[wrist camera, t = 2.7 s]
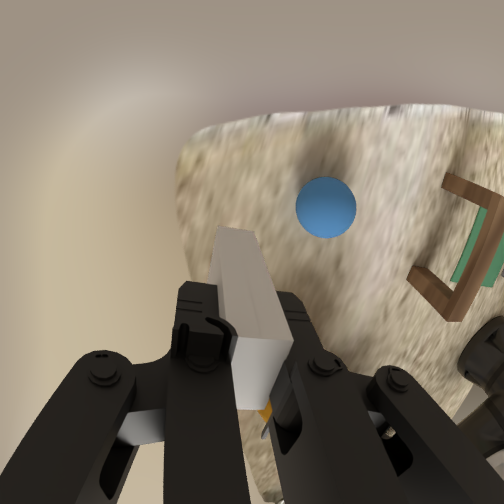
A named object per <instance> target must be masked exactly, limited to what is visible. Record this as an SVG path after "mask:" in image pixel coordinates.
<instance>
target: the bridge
mask: <svg viewBox="0 0 504 504" xmlns="http://www.w3.org/2000/svg"><path fill="white" fill-rule="evenodd" d="M441 188H443V189H446V190H448V191H450V192H452V193H454V194H456V195H458V196H461V197H463V198H465V199H467V200H469V201H471V202H473V203H475V204H477V205H479V206H481V207H483V208H485V209H487V213H486V216H485V218H484V221H483V224H482V227H481V229H480V232H479V235H478V237H477V240H476V242H475V245H474V247H473V250H472V252H471V255H470V257H469V259H468V262H467V264H466V266H465V268H464V271H463V273H462V275H461V277H460V279H459V281H458V283H457V285H456V287H455V290H454V292H453V291H452V290H451V289H450V288H449V287H448V286H447V285H446V284H445V283H443V282H442V281H441V280H440V279H439V278H438V277H437V276H436V275H435V274H433V273H432V272H431V271H430V270H429V269H428V268H422V267H416V266H412V268H411V270H410V272H409V275H408V277H407V279H406V280H407V281H408V282H409V283H410V284H411V285H412V286H413V287H414V288H415V289H416V290H417V291H418V292H419V293H420V294H421V295H422V296H423V297H424V298H425V299H426V300H427V301H428V302H429V303H430V304H431V305H432V306H433V307H434V308H435V310H436V311H437V312H438V313H439V314H440V315H441V316H442V317H443V318H444V319H445V320H446V321H447V322H462V320H463V319H464V317H465V315H466V313H467V311H468V310H469V308H470V306H471V304H472V302H473V300H474V298H475V296H476V294H477V292H478V290H479V288H480V286H481V284H482V282H483V280H484V278H485V276H486V274H487V271H488V269H489V267H490V265H491V262H492V260H493V258H494V256H495V253H496V251H497V248H498V246H499V243H500V241H501V238H502V236H503V233H504V197H503V196H502V195H499V194H497V193H495V192H493V191H491V190H488V189H486V188H484V187H482V186H479V185H477V184H475V183H472V182H470V181H467V180H465V179H462V178H460V177H457V176H455V175H452V174H450V173H447V172H446V174H445V177H444V181H443V184H442V187H441Z"/></svg>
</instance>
